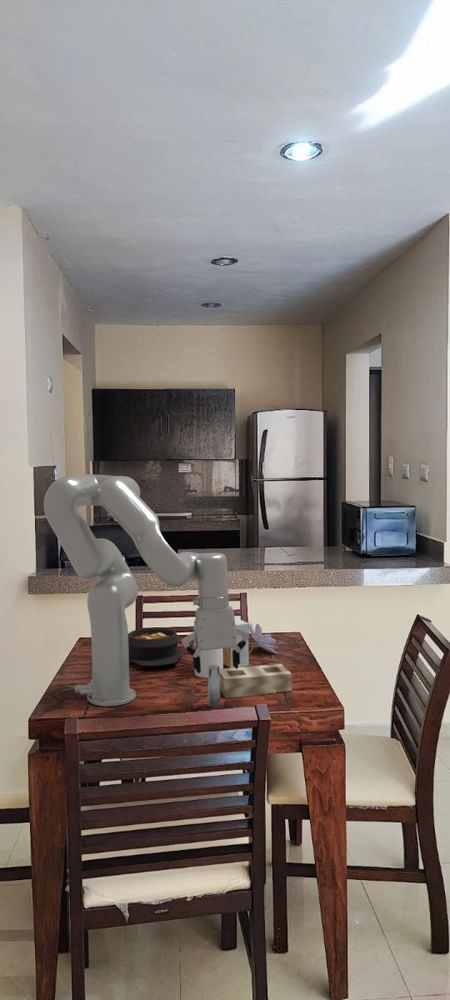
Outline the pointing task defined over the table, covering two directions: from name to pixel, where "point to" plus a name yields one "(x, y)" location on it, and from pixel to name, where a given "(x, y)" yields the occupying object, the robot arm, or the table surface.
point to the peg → (214, 686)
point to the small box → (228, 651)
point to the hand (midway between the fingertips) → (217, 669)
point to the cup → (209, 659)
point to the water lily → (261, 639)
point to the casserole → (153, 646)
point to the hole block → (254, 680)
